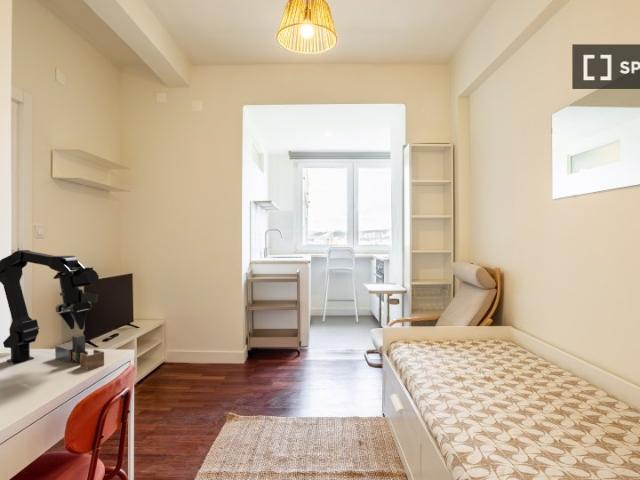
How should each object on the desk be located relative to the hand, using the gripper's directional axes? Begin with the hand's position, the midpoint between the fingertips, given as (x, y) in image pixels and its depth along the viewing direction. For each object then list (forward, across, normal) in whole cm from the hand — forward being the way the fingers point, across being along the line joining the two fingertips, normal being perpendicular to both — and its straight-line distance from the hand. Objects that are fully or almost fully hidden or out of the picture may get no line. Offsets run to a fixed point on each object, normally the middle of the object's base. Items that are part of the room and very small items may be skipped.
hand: (77, 329), depth 138 cm
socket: (+14, -6, -1) cm, 15 cm away
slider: (+11, +7, +1) cm, 13 cm away
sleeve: (+12, +10, +1) cm, 15 cm away
